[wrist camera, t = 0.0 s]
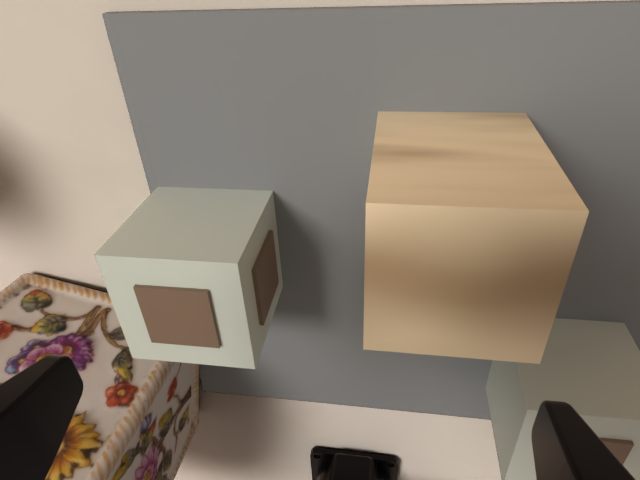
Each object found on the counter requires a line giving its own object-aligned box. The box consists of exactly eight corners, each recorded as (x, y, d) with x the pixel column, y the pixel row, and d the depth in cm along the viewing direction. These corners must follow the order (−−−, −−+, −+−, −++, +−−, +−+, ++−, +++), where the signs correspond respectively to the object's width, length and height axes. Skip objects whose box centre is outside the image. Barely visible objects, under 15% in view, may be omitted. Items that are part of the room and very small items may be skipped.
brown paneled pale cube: (286, 286, 26) (258, 373, 21) (181, 279, 27) (130, 361, 22) (276, 190, 23) (240, 267, 18) (157, 186, 24) (91, 258, 19)
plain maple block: (499, 235, 22) (539, 364, 16) (374, 229, 23) (362, 349, 17) (525, 112, 19) (589, 211, 13) (378, 111, 20) (365, 203, 13)
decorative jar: (23, 264, 29) (-390, 613, 14) (203, 310, 28) (-40, 728, 14) (56, 384, 36) (-199, 703, 21) (201, 424, 35) (40, 782, 20)
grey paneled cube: (595, 397, 28) (638, 504, 22) (485, 387, 28) (503, 488, 23) (628, 323, 24) (688, 429, 19) (503, 314, 25) (528, 413, 20)
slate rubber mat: (600, 423, 29) (603, 430, 29) (206, 385, 33) (204, 391, 33) (805, -4, 16) (815, -2, 16) (108, 11, 20) (102, 13, 19)
